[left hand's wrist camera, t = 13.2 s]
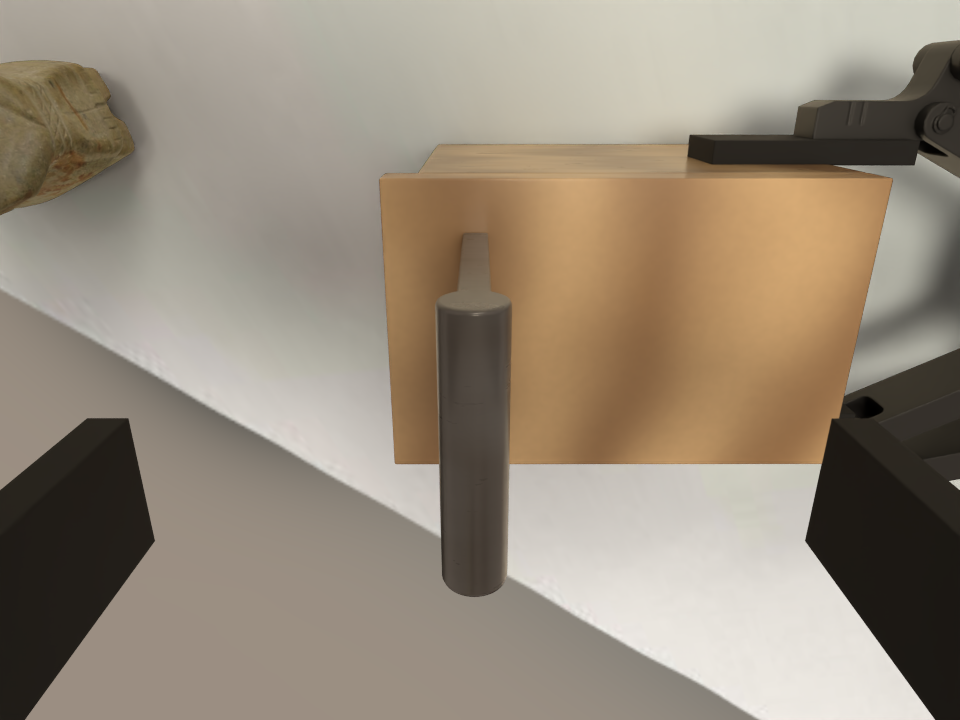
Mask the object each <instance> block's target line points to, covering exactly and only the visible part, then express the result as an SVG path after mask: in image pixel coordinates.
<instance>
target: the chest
mask: <svg viewBox="0 0 960 720" xmlns="http://www.w3.org/2000/svg"><path fill="white" fill-rule="evenodd" d="M688 146H689V144H439V145H438V146H437V147H436V148H435V150H434V151H433V153H432V154H431V155H430V157H429V158H428V160H427V161H426V163H425V164H424V165H423V167H422V168H421V170H420V171H419V172H418V173H865V172H861V171H856V170H851V169H847V168H842V167H838V166H833V165H829V164H709V163H706V162H703V161H700V160H697V159H694V158H691V157H688V156H687V155H688Z"/></svg>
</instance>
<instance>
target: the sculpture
mask: <svg viewBox="0 0 960 720" xmlns="http://www.w3.org/2000/svg"><path fill="white" fill-rule="evenodd" d="M110 96H111V95H110V92H109V90H108V88H107V86H106V84H105V83H104V81H103V80H102V78H101V77H100V75H99V73H98V72H97V71H96V70H95V69H93V68H83V67H82V66H80V65H78V64H75V63H69V62H60V61H48V60H31V61H16V62H9V63H2V64H0V215H2V214H4V213H6V212H9V211H11V210H13V209H15V208H22V207H27V206H31V205H36V204H40V203H43V202H46V201H49V200H51V199H54V198H56V197H58V196H60V195H62V194H64V193H66V192H68V191H69V190H71V189H73V188H75V187H77V186H78V185H80V184H82V183H83V182H85V181H87V180H88V179H90V178H92V177H93V176H95V175H97V174H98V173H100V172H101V171H103V170H104V169H105V168H107V167H109V166H111V165H113V164H114V163H116V162H118V161H119V160H121V159H123V158H124V157H126V156H128V155H129V154H131V153H132V152H133V151H134V148H135V147H134V143H133V140H132V138H131V135H130V133H129V130H128V128H127V126H126V125H125V123H124V122H123V121H121V120H119V119H117V118H116V117H115V116H114V115H113V114H112V113H111V112H110V109H109V107H108V105H107V100H108V99H109V98H110Z"/></svg>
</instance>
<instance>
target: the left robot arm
mask: <svg viewBox="0 0 960 720" xmlns="http://www.w3.org/2000/svg"><path fill="white" fill-rule="evenodd" d="M154 541H155V539H154V535H153V530H152V526H151V521H150V516H149V512H148V507H147V503H146V498H145V493H144V489H143V484H142V479H141V475H140V470H139V466H138V461H137V457H136V452H135V447H134V442H133V438H132V433H131V429H130V424H129V419H128V418H87V419H86V420H85V421H84V422H82V423H81V424H80V425H79V426H78V427H76V428H75V429H74V430H73V431H71V432H70V433H69V434H68V435H67V436H65V437H64V438H63V439H62V440H61V441H59V442H58V443H57V444H56V445H55V446H53V447H52V448H51V449H50V450H49V451H47V452H46V453H45V454H44V455H42V456H41V457H40V458H39V459H38V460H36V461H35V462H34V463H33V464H31V465H30V466H29V467H28V468H27V469H25V470H24V471H23V472H22V473H21V474H19V475H18V476H17V477H16V478H15V479H13V480H12V481H11V482H10V483H9V484H7V485H6V486H5V487H4V488H2V489H1V490H0V720H25V719H26V717H27V716H28V715H29V713H30V712H31V711H32V709H33V708H34V706H35V705H36V704H37V702H38V701H39V699H40V698H41V697H42V695H43V694H44V693H45V691H46V690H47V688H48V687H49V686H50V684H51V683H52V682H53V680H54V679H55V678H56V676H57V675H58V673H59V672H60V671H61V669H62V668H63V667H64V665H65V664H66V662H67V661H68V660H69V658H70V657H71V655H72V654H73V653H74V651H75V650H76V649H77V647H78V646H79V645H80V643H81V642H82V640H83V639H84V638H85V636H86V635H87V633H88V632H89V631H90V629H91V628H92V627H93V625H94V624H95V623H96V621H97V620H98V618H99V617H100V616H101V614H102V613H103V611H104V610H105V609H106V607H107V606H108V605H109V603H110V602H111V600H112V599H113V598H114V596H115V595H116V594H117V592H118V591H119V590H120V588H121V587H122V585H123V584H124V583H125V581H126V580H127V579H128V577H129V576H130V574H131V573H132V572H133V570H134V569H135V568H136V566H137V565H138V563H139V562H140V561H141V559H142V558H143V557H144V555H145V554H146V552H147V551H148V550H149V548H150V547H151V545H152V544H153V543H154ZM805 541H806V543H807V544H808V546H809V547H810V548H811V550H812V551H813V552H814V554H815V555H816V557H817V558H818V559H819V561H820V562H821V563H822V565H823V566H824V568H825V569H826V570H827V572H828V573H829V574H830V576H831V577H832V579H833V580H834V581H835V583H836V584H837V585H838V587H839V588H840V590H841V591H842V592H843V594H844V595H845V596H846V598H847V599H848V601H849V602H850V603H851V605H852V606H853V607H854V609H855V610H856V612H857V613H858V614H859V616H860V617H861V618H862V620H863V621H864V623H865V624H866V625H867V627H868V628H869V629H870V631H871V632H872V634H873V635H874V636H875V638H876V639H877V640H878V642H879V643H880V645H881V646H882V647H883V649H884V650H885V651H886V653H887V654H888V656H889V657H890V658H891V660H892V661H893V662H894V664H895V665H896V667H897V668H898V669H899V671H900V672H901V673H902V675H903V676H904V678H905V679H906V680H907V682H908V683H909V684H910V686H911V687H912V689H913V690H914V691H915V693H916V694H917V695H918V697H919V698H920V700H921V701H922V702H923V704H924V705H925V706H926V708H927V709H928V711H929V712H930V713H931V715H932V716H933V717H934V719H935V720H960V490H959V489H958V488H956V487H955V486H954V485H953V484H952V483H950V482H949V481H948V480H947V479H945V478H944V477H943V476H942V475H941V474H939V473H938V472H937V471H936V470H935V469H933V468H932V467H931V466H930V465H929V464H927V463H926V462H925V461H924V460H922V459H921V458H920V457H919V456H918V455H916V454H915V453H914V452H913V451H912V450H910V449H909V448H908V447H907V446H906V445H904V444H903V443H902V442H901V441H899V440H898V439H897V438H896V437H895V436H893V435H892V434H891V433H890V432H889V431H887V430H886V429H885V428H884V427H883V426H881V425H880V424H879V423H878V422H876V421H875V420H874V419H873V418H832V419H831V424H830V429H829V433H828V438H827V442H826V447H825V452H824V456H823V461H822V466H821V470H820V475H819V479H818V484H817V489H816V493H815V498H814V503H813V507H812V512H811V516H810V521H809V526H808V530H807V535H806V539H805Z"/></svg>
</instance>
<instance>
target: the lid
mask: <svg viewBox="0 0 960 720" xmlns="http://www.w3.org/2000/svg"><path fill="white" fill-rule="evenodd" d="M892 182H893V179H892V178H889V177H884V176H879V175H875V174H870V173H386V174H384V175H383V176H382V177H381V178H380V179H379V185H380V203H381V221H382V239H383V257H384V275H385V293H386V312H387V330H388V348H389V366H390V384H391V402H392V420H393V439H394V457H395V464H439V474H440V512H441V549H442V576H443V580H444V582H445V583H446V585H447V586H448V587H449V588H450V589H451V590H452V591H454V592H456V593H458V594H460V595H464V596H469V597H479V596H485V595H488V594H491V593H493V592H495V591H497V590H498V589H499V588H500V587H501V586H502V585H503V583H504V582H505V580H506V577H507V555H508V502H509V464H822V461H823V456H824V452H825V447H826V442H827V438H828V433H829V429H830V424H831V419H832V418H839V416H840V411H841V407H842V402H843V398H844V394H845V389H846V385H847V380H848V376H849V371H850V367H851V363H852V358H853V354H854V349H855V345H856V341H857V336H858V332H859V327H860V323H861V318H862V314H863V310H864V305H865V301H866V296H867V292H868V288H869V283H870V279H871V274H872V270H873V266H874V261H875V257H876V252H877V248H878V243H879V239H880V235H881V230H882V226H883V221H884V217H885V213H886V208H887V204H888V199H889V195H890V191H891V186H892Z"/></svg>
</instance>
